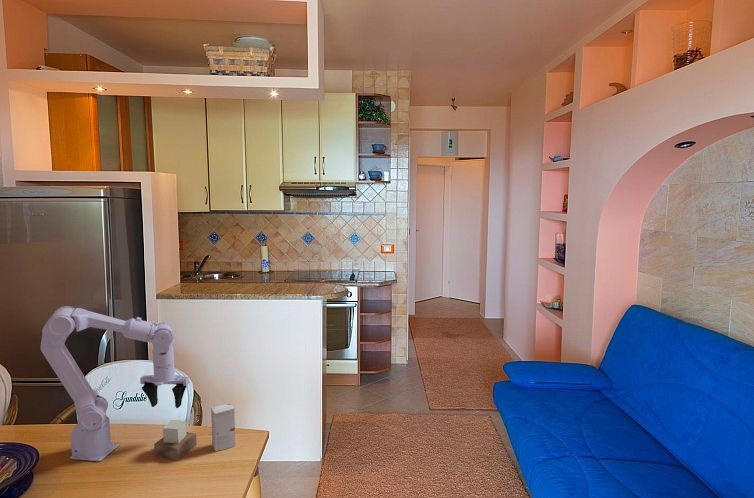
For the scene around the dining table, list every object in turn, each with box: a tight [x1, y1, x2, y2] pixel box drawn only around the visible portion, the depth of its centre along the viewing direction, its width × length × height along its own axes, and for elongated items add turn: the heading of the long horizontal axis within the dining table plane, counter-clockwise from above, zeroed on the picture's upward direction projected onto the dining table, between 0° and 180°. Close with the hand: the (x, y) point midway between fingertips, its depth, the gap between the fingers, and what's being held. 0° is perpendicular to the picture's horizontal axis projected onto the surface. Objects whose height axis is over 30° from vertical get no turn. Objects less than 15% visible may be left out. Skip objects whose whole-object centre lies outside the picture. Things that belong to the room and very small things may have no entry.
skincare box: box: [210, 402, 236, 452], centre depth 133 cm, size 6×4×12 cm
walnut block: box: [153, 431, 198, 461], centre depth 131 cm, size 8×8×4 cm
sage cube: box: [162, 419, 187, 444], centre depth 131 cm, size 4×4×4 cm
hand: (166, 405), depth 137 cm, fingers open, 7 cm apart
